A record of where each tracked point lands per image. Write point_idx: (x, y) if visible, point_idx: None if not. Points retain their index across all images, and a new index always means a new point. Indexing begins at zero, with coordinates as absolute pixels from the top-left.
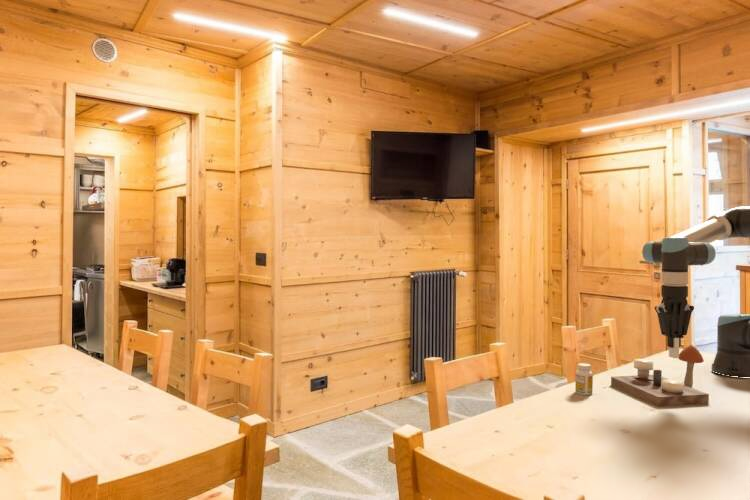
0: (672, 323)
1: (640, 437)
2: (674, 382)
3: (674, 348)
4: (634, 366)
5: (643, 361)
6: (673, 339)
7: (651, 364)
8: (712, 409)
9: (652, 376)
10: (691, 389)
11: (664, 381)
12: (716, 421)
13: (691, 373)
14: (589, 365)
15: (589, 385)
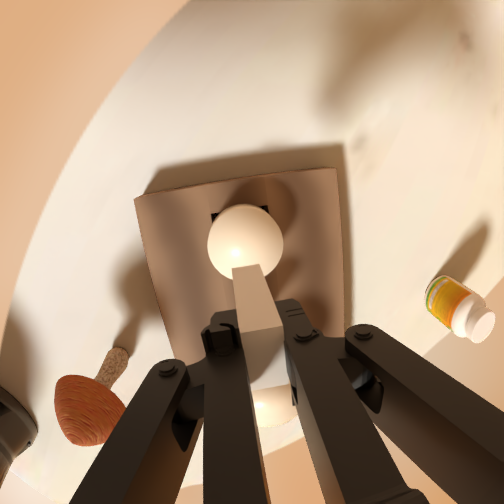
0: (360, 426)
1: (451, 9)
2: (241, 240)
3: (268, 291)
4: None
5: (276, 400)
6: (283, 333)
7: None
8: (166, 136)
9: None
10: (162, 255)
11: (273, 254)
12: (230, 36)
13: (103, 370)
14: (481, 319)
15: (453, 285)
